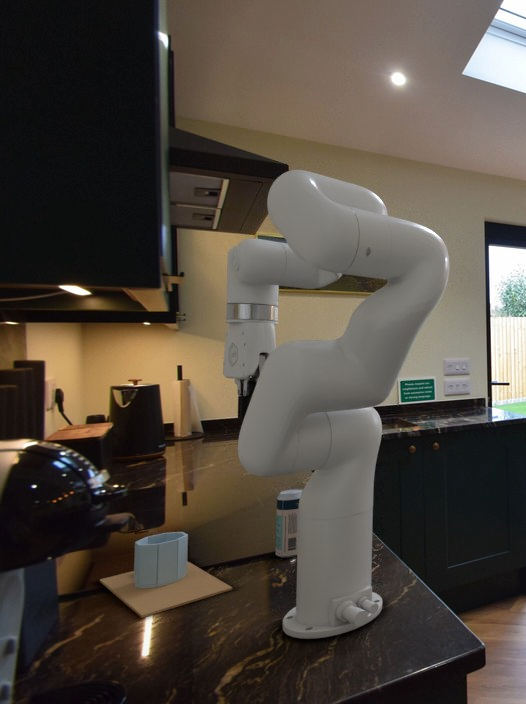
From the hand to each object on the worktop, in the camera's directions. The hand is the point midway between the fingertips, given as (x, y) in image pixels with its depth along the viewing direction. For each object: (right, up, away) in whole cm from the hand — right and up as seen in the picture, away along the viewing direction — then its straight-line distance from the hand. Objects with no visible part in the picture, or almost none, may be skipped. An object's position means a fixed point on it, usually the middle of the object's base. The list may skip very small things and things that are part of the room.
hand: (250, 417), depth 93 cm
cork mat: (-9, -27, -7) cm, 29 cm away
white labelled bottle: (+2, -28, +7) cm, 29 cm away
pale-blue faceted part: (-8, -23, -7) cm, 25 cm away
